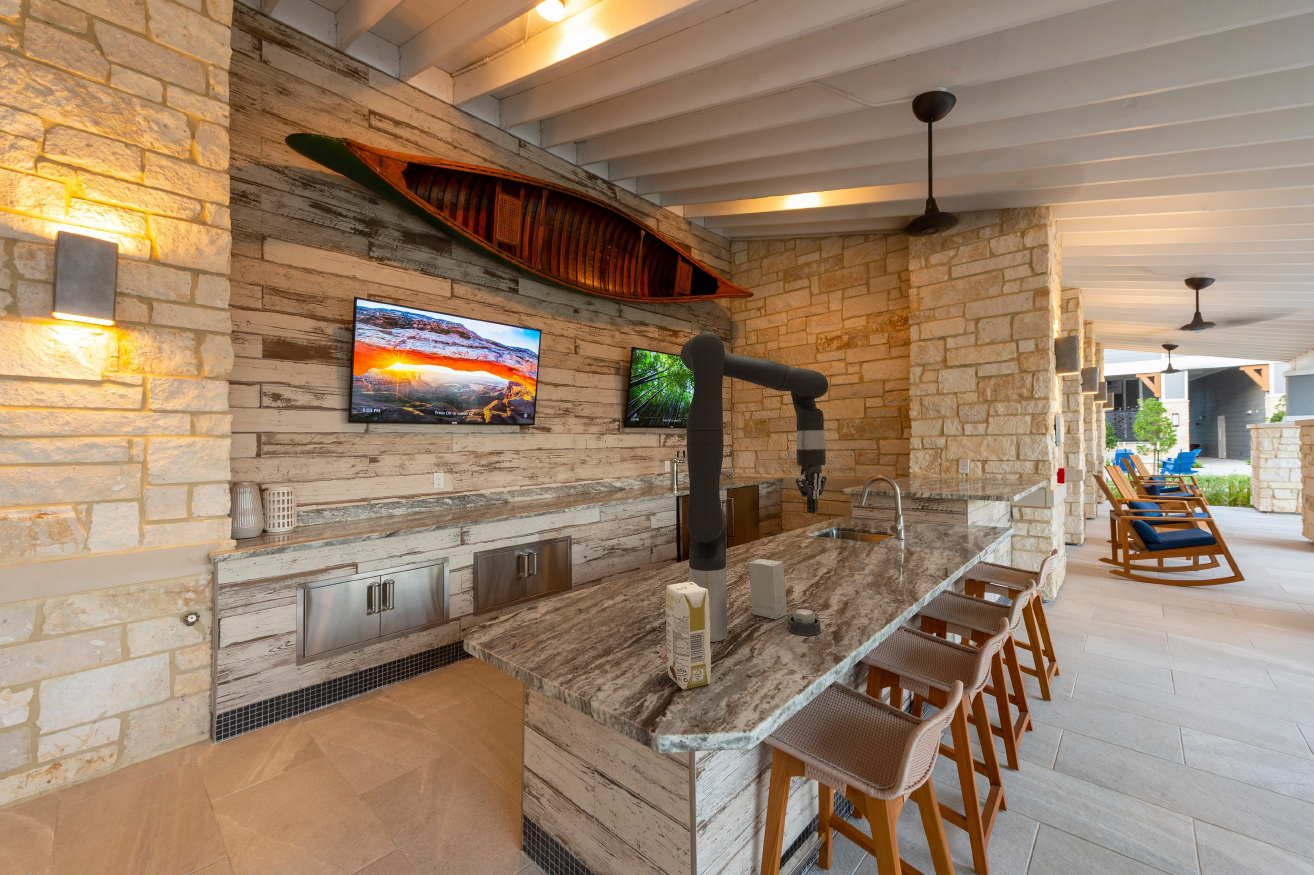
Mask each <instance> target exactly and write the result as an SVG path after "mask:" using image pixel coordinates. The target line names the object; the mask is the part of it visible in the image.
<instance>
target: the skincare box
mask: <svg viewBox="0 0 1314 875" xmlns="http://www.w3.org/2000/svg"><path fill="white" fill-rule="evenodd" d="M748 570H749V574H748V575H749V585H750V598H751V600H750V601H751V614H752V615H756V616H760V617H765V618H769V619H773V620H778V619H780V618H783V617H786V616H787V615H788V609H787V596H786V594H787V593H786V581H785V567H784V561H782V560H772V559H771V560H770V559H764V558H758V559H755V560H752V561H749V562H748Z"/></svg>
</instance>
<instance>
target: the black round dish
mask: <svg viewBox="0 0 1314 875" xmlns="http://www.w3.org/2000/svg"><path fill="white" fill-rule="evenodd" d="M787 629H788V632H790V633H791V634H793V635H797V636H801V637H802V636H803V637H814V636H818V635H820V633H821V620H820V619H819V617H818V618H817V617H816V616H815V624H811V625H803V624H797V623H794V615H791V616H789V617H788V619H787Z"/></svg>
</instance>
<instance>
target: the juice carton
mask: <svg viewBox="0 0 1314 875" xmlns="http://www.w3.org/2000/svg"><path fill="white" fill-rule="evenodd" d="M665 591H666V592H665V630H666V631H665V633H666V634H665V637H666V638H665V639H666V643H665V644H666V667H667V674H668V676H669V678H670V679H671V680H672V681H673V682H675V683H676V684H677V685H678V686H679V688H681V689H682V690H689V689H693V688H698V687H702V686H705V685H709V684H711V674H712V673H711V672H712V659H711V658H712V657H711V656H712V654H711V651H712V650H711V642H710V605H709V594H708V589H705V588H702V587H699V586H698V585H697V584H695V583H694V582H690V581H688V582H687V581H686V582H679V583H678V582H677V583H673V584H666V590H665Z"/></svg>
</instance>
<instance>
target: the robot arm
mask: <svg viewBox="0 0 1314 875" xmlns="http://www.w3.org/2000/svg"><path fill="white" fill-rule="evenodd" d="M680 359H681V362H682V364H683V365H684V367H685V368H686V369H688V370H689V371H690V372H692V373H693V392H692V399H691V403H690V407H689V410H688V415H687V420H686V426H685V427H686V430H685V431H686V432H685V433H686V434H685V435H686V436H685V437H686V438H685V439H686V443H685V444H686V458H687V470H688V471H687V472H688V478H689V480H688V482H689V483H688V484H689V489H688V490H689V492H688V506H687V513H686V514H687V515H686V527H687V530H688V532H689V537H690V538H689V540H690V541H689V544H690V545H689V554H688V566H689V569H688V572H689V574H688V576H689V582H694V583H695V584H697V585H698V586H699V587H702V588H705V589H708V594H709V605H710V643H711V642H712V643H714V642H719V641H724V640H725V639H727V638H728V602H727V601H728V599H727V598H728V595H727V594H728V591H727V519H726V514H725V511H724V510H723V508H722V506H721V503H722V502H721V495H720V494H721V493H720V482H721V481H720V479H721V474H722V467H723V459H724V446H725V445H724V441H725V440H724V414H723V413H724V408H723V407H724V404H723V403H724V401H723V400H724V399H723V380H724V377H728V378H733V379H736V380H741V381H745V382H746V383H747V382H748V383H752V384H754V385H757V386H761V387H765V388H767V389H771V390H774V391H777V392H790V396H791V400H792V404H793V408H794V409H793V410H794V412H795V414H796V435H795V436H796V437H795V446H796V447H795V448H796V465H797V466H799V467H801V469H800V477H799V478H796V479H795V484H796V486H797V488H798V490H799V492H800V495H801V496H802V497H803V498H805V499H806V509H807V510H806V511H807V514H816V513H817V512H818V499H819V497H820V496H822V495H823V493H824V492H823V491H824V488H825V486H826V483H827V480H828V479H827V476H825V475H823V470H822V467H823V466H825V465H826V464H827V457H826V456H827V454H826V453H827V452H826V451H827V450H826V436H825V421H824V419H825V418H824V412H823V410H822V409H820V408H817V405H816V399H819V398H822V397H823V396H825V395H826V394H827V392H828V390H829V386H830V385H829V381H828V379H827V377H826V376H825V375H824V374H823V373H821V372H819V371H816V370H815V369H814V370H813V369H807V368H802V367H795V366H791V365H787V364H785V363H784V364H783V363H781V362H777V361H774V360H771V359H767V358H762V357H755V356H754V357H753V356H746V355H741V354H736V353H732V352H728V351H726V349H725V345H724V342H723V340H722V339H721V337H720V336H719V335H718V334H716V333H714V332H712V331H705V332H701V333H699V334H697V335H695V336H693V337H692V338H689V339H688V340H687V341H686V342H685V343H684V344H683V345H682V347H681V350H680Z"/></svg>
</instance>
